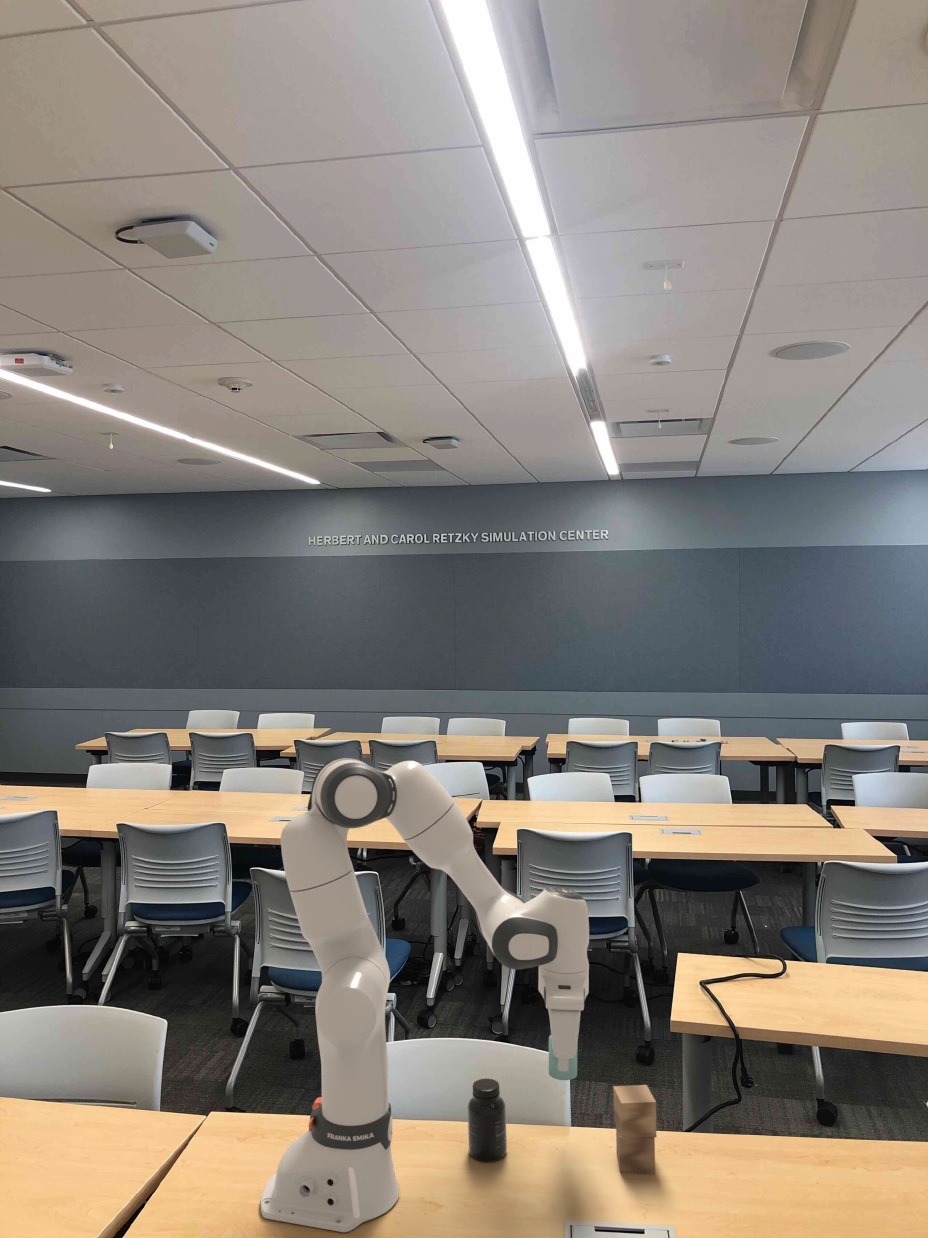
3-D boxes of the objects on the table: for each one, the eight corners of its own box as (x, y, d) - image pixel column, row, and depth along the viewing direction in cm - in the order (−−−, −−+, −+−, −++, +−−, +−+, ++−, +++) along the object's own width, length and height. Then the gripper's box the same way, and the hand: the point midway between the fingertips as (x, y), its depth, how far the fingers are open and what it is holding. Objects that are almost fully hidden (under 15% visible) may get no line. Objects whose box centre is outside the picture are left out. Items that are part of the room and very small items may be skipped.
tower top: (622, 1139, 152) (621, 1103, 152) (613, 1120, 158) (613, 1086, 158) (656, 1137, 153) (655, 1102, 153) (647, 1119, 159) (646, 1085, 159)
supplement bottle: (498, 1139, 164) (497, 1073, 164) (512, 1159, 157) (511, 1090, 158) (463, 1146, 161) (462, 1079, 162) (475, 1167, 155) (474, 1096, 155)
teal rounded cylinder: (548, 1079, 154) (549, 1044, 154) (548, 1066, 159) (548, 1032, 159) (577, 1081, 154) (578, 1046, 154) (576, 1067, 159) (576, 1033, 159)
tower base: (619, 1173, 152) (619, 1138, 153) (616, 1153, 158) (616, 1119, 159) (655, 1174, 152) (654, 1139, 152) (650, 1155, 158) (650, 1120, 158)
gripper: (545, 960, 168) (544, 1034, 167) (546, 1003, 147) (545, 1088, 147) (578, 962, 167) (577, 1036, 167) (584, 1005, 147) (583, 1090, 146)
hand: (562, 1061), depth 157 cm, fingers closed on teal rounded cylinder, 5 cm apart
